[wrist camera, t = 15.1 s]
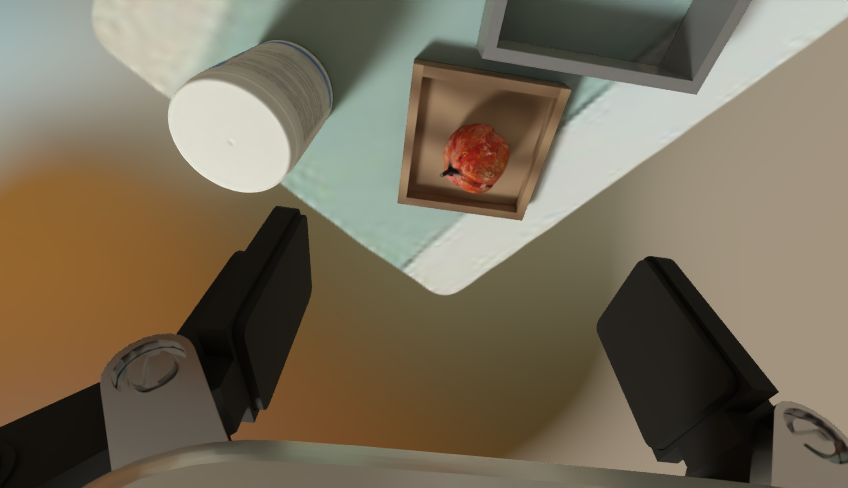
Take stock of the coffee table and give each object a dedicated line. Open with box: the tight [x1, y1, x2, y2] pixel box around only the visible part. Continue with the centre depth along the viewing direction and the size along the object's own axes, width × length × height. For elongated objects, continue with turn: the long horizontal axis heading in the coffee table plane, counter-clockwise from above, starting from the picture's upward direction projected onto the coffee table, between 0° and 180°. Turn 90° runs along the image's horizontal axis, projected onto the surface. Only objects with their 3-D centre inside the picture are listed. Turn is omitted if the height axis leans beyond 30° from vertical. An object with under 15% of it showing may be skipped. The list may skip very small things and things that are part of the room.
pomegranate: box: [439, 123, 510, 194], centre depth 39 cm, size 7×7×10 cm
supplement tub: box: [168, 40, 333, 192], centre depth 33 cm, size 10×10×15 cm
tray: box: [398, 59, 571, 220], centre depth 41 cm, size 16×16×3 cm
